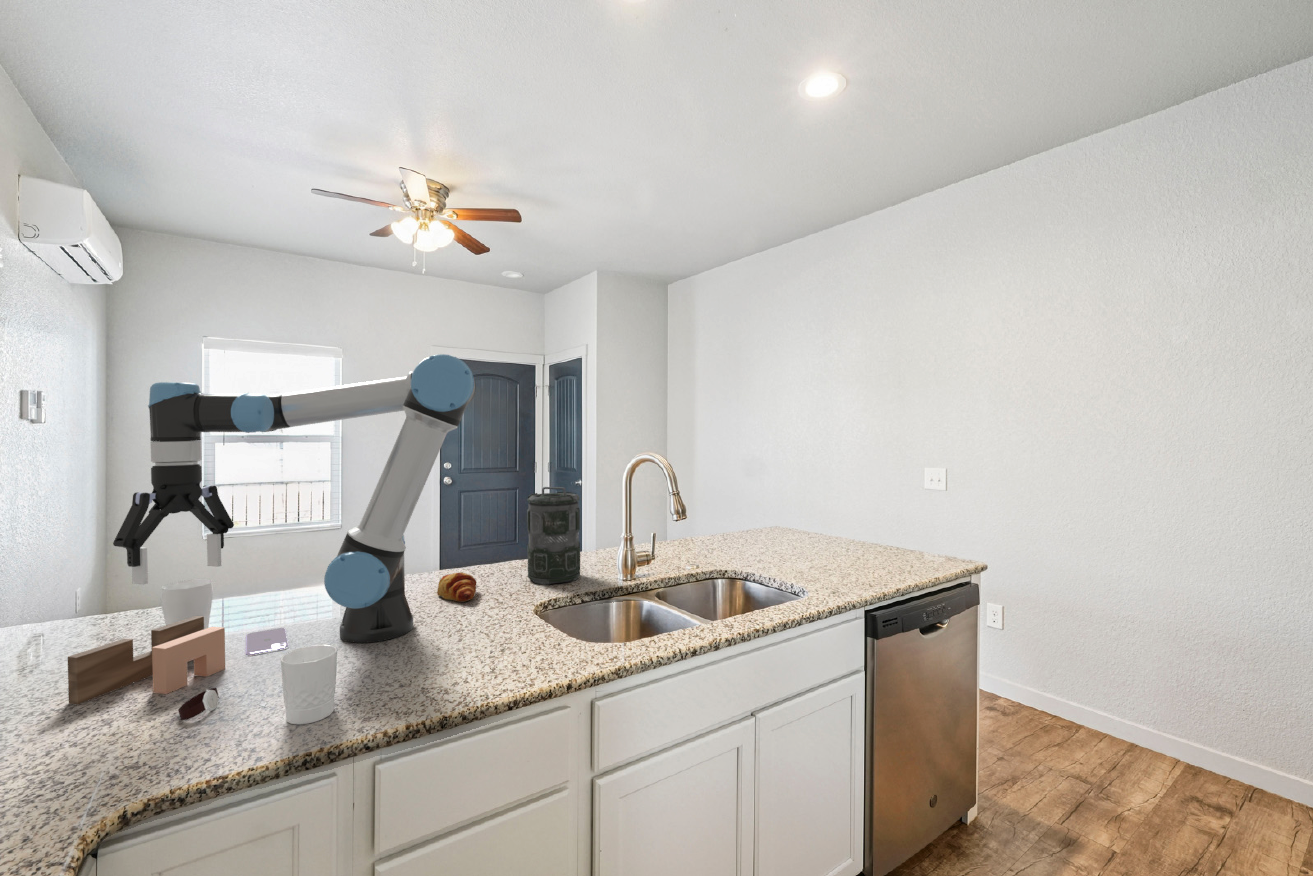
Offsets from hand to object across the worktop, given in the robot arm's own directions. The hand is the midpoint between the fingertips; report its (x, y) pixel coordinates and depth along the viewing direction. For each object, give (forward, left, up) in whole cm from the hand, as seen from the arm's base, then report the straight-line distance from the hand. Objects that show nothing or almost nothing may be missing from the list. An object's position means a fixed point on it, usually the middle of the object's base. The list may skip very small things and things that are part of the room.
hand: (179, 574), depth 113 cm
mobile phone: (-3, -16, -19) cm, 25 cm away
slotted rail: (+4, +4, -18) cm, 19 cm away
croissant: (-24, -57, -19) cm, 64 cm away
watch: (-19, +12, -19) cm, 30 cm away
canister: (-43, -79, -19) cm, 92 cm away
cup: (+16, -14, -19) cm, 28 cm away
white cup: (-38, +9, -19) cm, 44 cm away
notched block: (-6, +3, -19) cm, 20 cm away
